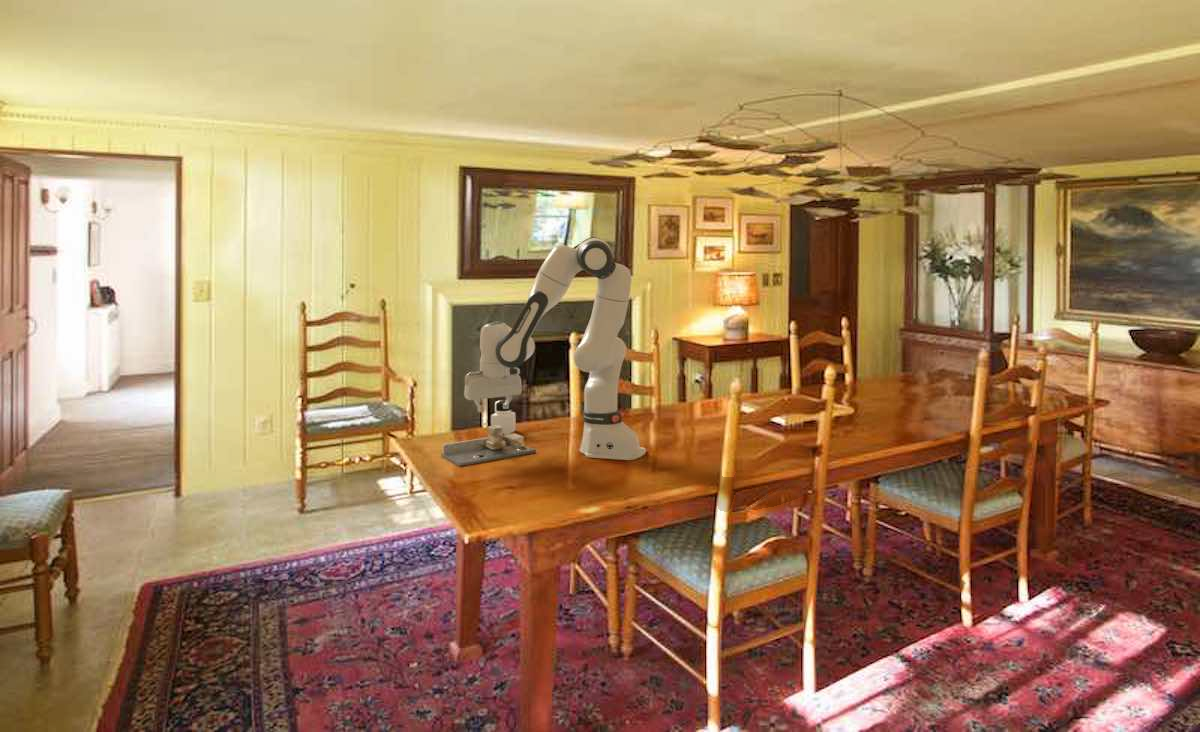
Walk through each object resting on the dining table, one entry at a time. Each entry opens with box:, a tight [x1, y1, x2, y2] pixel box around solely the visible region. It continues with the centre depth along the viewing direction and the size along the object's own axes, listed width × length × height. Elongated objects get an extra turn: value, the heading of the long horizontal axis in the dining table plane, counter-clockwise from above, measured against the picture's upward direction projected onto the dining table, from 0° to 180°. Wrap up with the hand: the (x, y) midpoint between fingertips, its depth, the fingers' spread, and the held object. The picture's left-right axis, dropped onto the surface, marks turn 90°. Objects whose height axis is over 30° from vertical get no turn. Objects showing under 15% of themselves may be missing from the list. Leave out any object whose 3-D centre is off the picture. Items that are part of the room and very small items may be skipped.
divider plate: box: [440, 432, 537, 467], centre depth 249 cm, size 28×14×4 cm, turn 125°
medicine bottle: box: [490, 399, 517, 434], centre depth 279 cm, size 7×7×12 cm
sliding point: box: [486, 425, 506, 451], centre depth 252 cm, size 5×10×7 cm, turn 35°
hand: (493, 410), depth 252 cm, fingers open, 8 cm apart
